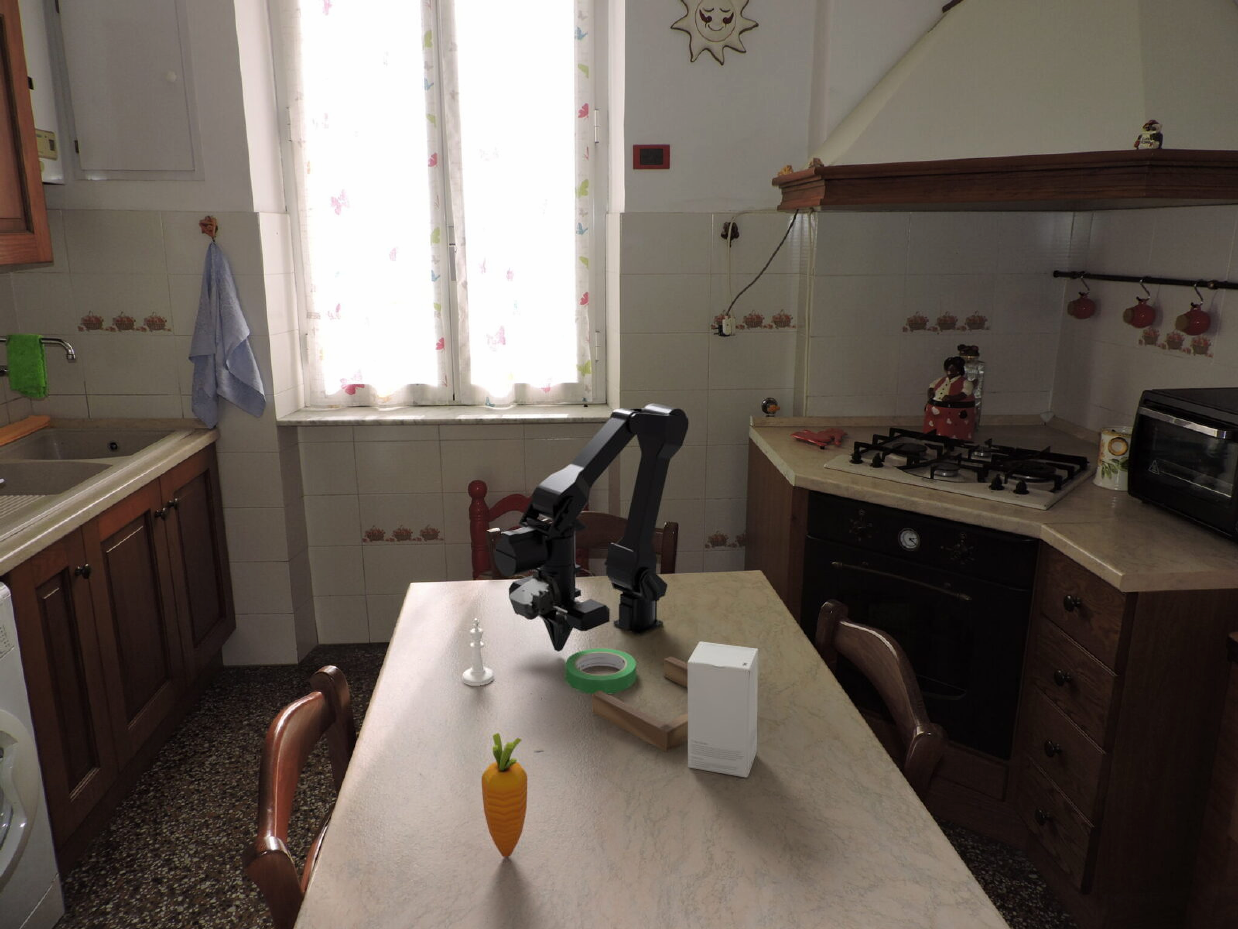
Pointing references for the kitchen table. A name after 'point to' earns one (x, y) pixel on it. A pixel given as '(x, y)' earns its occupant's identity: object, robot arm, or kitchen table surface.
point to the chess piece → (477, 661)
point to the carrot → (504, 797)
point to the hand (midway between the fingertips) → (558, 650)
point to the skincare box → (722, 708)
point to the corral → (642, 722)
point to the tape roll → (600, 682)
